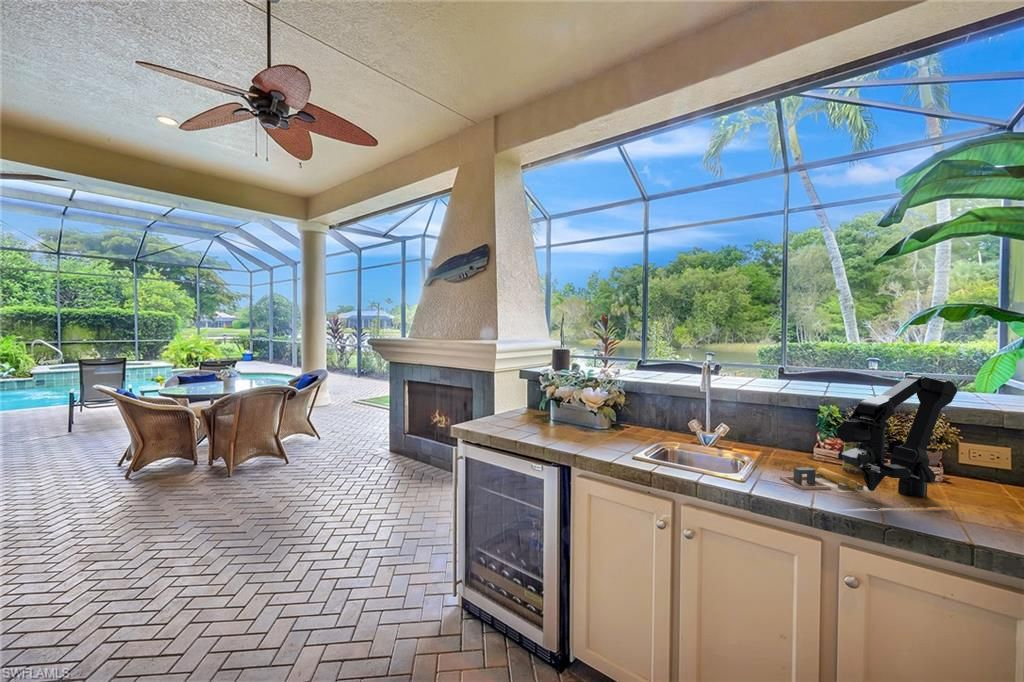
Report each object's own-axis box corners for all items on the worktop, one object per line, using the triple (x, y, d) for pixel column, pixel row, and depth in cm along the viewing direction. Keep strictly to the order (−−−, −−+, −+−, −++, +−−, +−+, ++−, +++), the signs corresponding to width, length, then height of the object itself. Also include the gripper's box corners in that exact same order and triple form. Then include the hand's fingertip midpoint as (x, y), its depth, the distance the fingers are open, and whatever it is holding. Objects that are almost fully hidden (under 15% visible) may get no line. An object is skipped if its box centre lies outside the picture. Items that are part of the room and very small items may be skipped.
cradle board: (799, 475, 148) (799, 469, 148) (832, 475, 149) (832, 469, 149) (840, 494, 131) (840, 487, 131) (877, 493, 132) (877, 487, 132)
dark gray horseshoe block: (809, 483, 140) (809, 467, 139) (815, 485, 137) (815, 469, 137) (793, 483, 139) (793, 467, 139) (798, 485, 137) (799, 470, 137)
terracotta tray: (806, 480, 143) (806, 475, 143) (830, 491, 133) (830, 486, 133) (779, 480, 143) (779, 476, 143) (801, 491, 133) (802, 487, 133)
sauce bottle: (841, 472, 152) (843, 420, 152) (842, 468, 157) (844, 417, 156) (864, 477, 148) (866, 423, 147) (865, 472, 152) (866, 420, 152)
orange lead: (814, 474, 147) (814, 466, 147) (822, 474, 147) (822, 466, 147) (851, 490, 132) (852, 481, 132) (860, 490, 133) (860, 481, 132)
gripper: (823, 434, 136) (822, 480, 136) (877, 450, 117) (875, 503, 117) (854, 433, 137) (853, 479, 137) (913, 450, 118) (911, 502, 118)
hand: (870, 490), depth 127 cm, fingers closed
